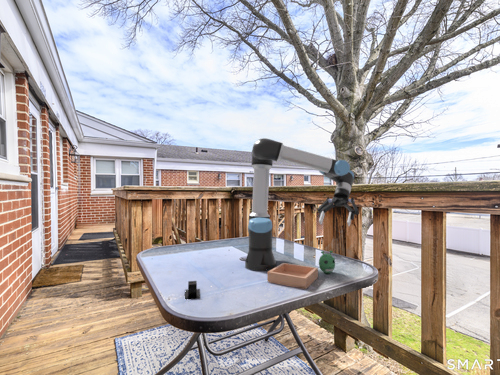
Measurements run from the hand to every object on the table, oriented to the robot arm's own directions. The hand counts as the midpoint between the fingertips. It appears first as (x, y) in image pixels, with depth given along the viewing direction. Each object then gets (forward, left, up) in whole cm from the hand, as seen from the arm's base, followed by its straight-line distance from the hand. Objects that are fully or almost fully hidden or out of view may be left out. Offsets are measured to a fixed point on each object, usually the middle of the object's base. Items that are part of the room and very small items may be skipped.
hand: (333, 223), depth 121 cm
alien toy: (-1, -9, -22) cm, 24 cm away
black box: (-36, -58, -22) cm, 72 cm away
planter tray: (-11, -25, -21) cm, 35 cm away
